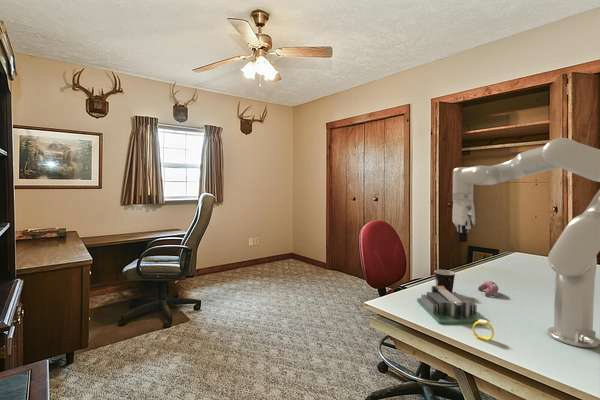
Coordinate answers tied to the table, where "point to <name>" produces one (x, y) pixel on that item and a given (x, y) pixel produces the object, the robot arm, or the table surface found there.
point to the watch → (483, 324)
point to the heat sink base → (449, 308)
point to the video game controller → (488, 288)
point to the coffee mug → (445, 279)
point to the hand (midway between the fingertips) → (462, 241)
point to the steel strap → (449, 296)
